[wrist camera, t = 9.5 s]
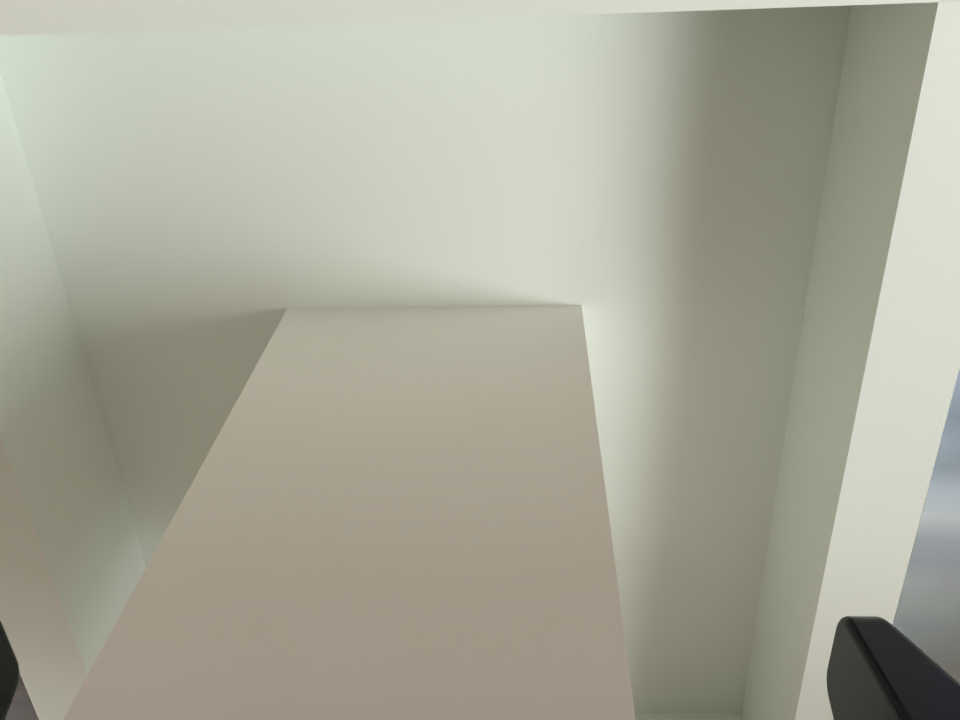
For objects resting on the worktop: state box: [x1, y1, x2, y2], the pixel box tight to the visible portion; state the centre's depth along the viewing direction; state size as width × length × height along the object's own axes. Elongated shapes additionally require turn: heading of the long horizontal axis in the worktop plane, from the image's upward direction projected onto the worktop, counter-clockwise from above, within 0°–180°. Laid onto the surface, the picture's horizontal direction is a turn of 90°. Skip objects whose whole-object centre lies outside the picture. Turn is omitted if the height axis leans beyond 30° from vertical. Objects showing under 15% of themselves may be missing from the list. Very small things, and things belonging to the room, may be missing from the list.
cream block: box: [63, 305, 635, 720], centre depth 9 cm, size 4×4×9 cm
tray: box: [0, 0, 960, 720], centre depth 12 cm, size 12×14×3 cm
